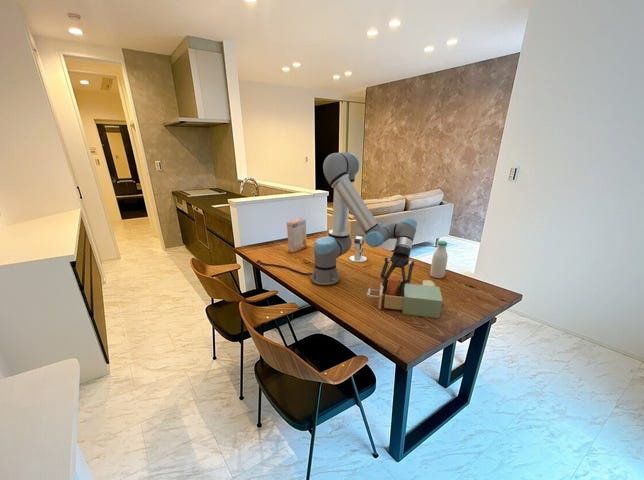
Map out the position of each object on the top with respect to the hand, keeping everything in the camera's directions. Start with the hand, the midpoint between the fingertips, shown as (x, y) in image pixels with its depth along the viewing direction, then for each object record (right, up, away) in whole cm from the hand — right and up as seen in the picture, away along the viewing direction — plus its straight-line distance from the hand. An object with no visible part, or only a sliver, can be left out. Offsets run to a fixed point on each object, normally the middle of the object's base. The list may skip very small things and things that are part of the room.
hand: (391, 294), depth 133 cm
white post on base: (-8, +19, +59) cm, 63 cm away
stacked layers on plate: (+22, 0, +16) cm, 27 cm away
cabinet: (+14, -6, +3) cm, 16 cm away
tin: (+1, -3, +5) cm, 6 cm away
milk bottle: (+34, +8, +35) cm, 49 cm away
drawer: (0, -4, +6) cm, 7 cm away
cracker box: (-48, +27, +77) cm, 95 cm away
